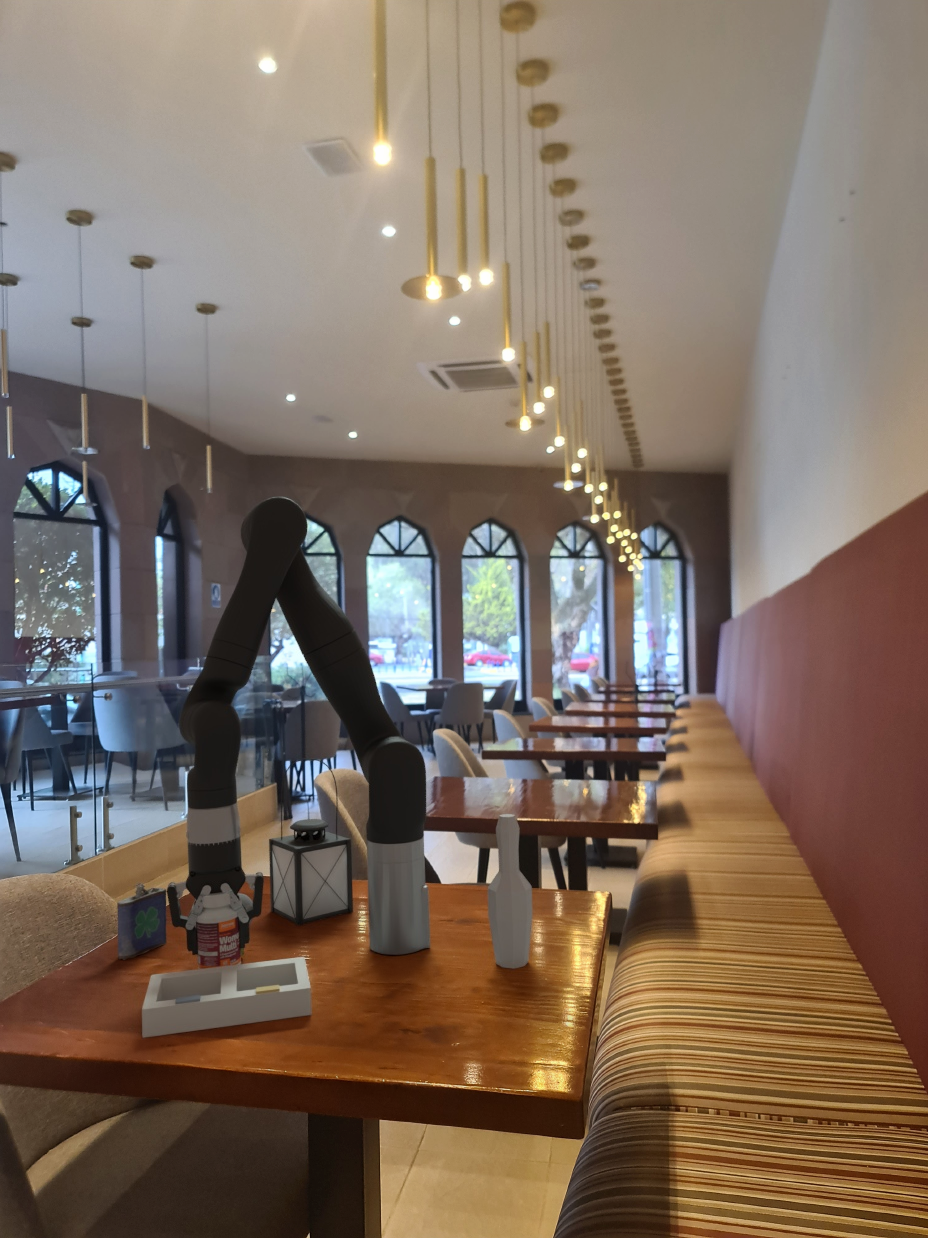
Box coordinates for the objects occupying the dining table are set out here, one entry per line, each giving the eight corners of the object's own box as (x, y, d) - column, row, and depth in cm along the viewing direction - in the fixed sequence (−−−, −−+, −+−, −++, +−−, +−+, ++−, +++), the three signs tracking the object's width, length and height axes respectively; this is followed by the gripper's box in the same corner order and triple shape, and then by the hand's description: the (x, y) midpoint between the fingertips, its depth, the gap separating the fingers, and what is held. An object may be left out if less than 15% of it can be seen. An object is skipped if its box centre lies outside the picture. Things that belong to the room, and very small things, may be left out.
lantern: (353, 912, 158) (350, 757, 159) (297, 926, 151) (294, 764, 152) (324, 899, 167) (320, 752, 168) (269, 912, 160) (266, 758, 161)
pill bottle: (226, 977, 124) (223, 897, 125) (189, 975, 126) (185, 896, 126) (249, 961, 130) (246, 885, 130) (213, 959, 132) (210, 884, 132)
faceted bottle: (541, 961, 131) (536, 814, 132) (514, 974, 127) (509, 821, 127) (509, 952, 136) (504, 810, 136) (482, 964, 131) (477, 816, 132)
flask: (125, 961, 137) (123, 892, 137) (112, 958, 138) (111, 890, 139) (170, 942, 145) (169, 877, 145) (158, 940, 146) (157, 876, 147)
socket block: (305, 981, 126) (304, 954, 127) (311, 1015, 115) (310, 985, 115) (151, 1000, 121) (151, 972, 121) (142, 1038, 110) (141, 1007, 110)
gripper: (263, 825, 134) (267, 935, 134) (164, 835, 130) (169, 948, 130) (264, 835, 127) (270, 952, 126) (160, 846, 123) (165, 966, 123)
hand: (218, 949), depth 128 cm, fingers closed on pill bottle, 6 cm apart
